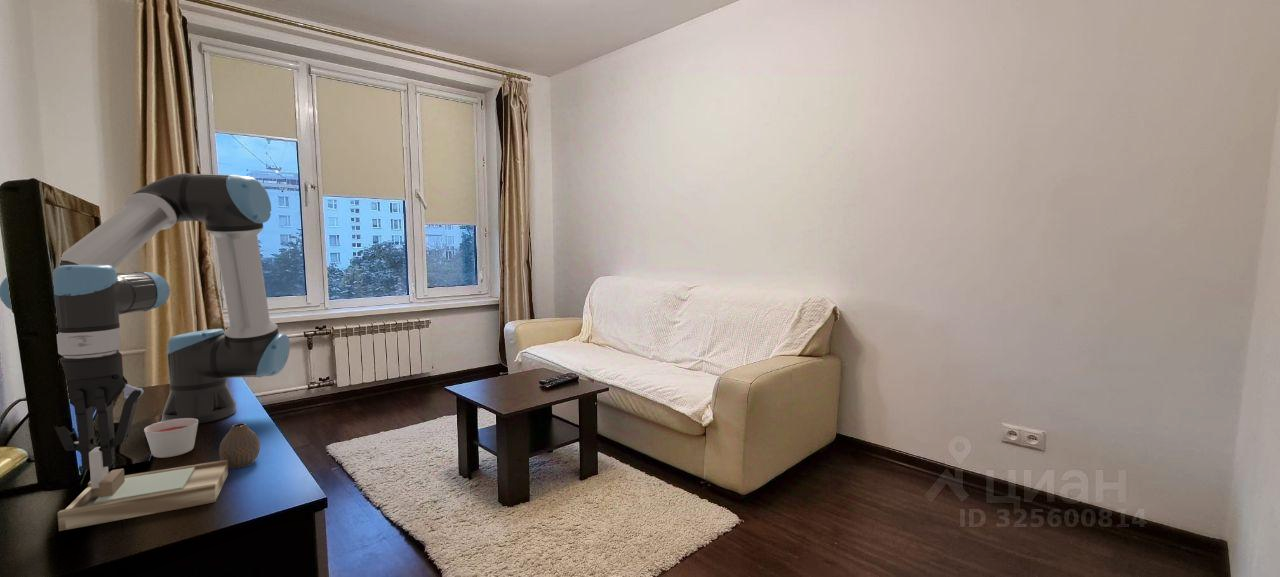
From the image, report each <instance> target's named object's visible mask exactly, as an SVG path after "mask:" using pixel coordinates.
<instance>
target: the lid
mask: <svg viewBox="0 0 1280 577" xmlns="http://www.w3.org/2000/svg"><path fill="white" fill-rule="evenodd" d="M194 471H195V467H192V468H186V469H179V470H173V471H167V472H160V473H154V474H147V475H141V476H135V477H128V478H125V477H124V476H125V469H124V468H118V469H117V468H116V469H112V470H111V471H109V474H108V475H107V476H106V477H105V478H104V479H103V480H102V481H101V482H100V483H99V493H100V496H99V497H98V499H97V500H96V501H95V502H94V504H100V503H105V502H111V501H117V500H123V499H129V498H134V497H140V496H146V495H152V494H158V493H164V492H169V491H175V490H181V489H184V487H185V485H186V484H187V482H188V480H189V479H190V477H191V476H192V474H193V472H194Z"/></svg>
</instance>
